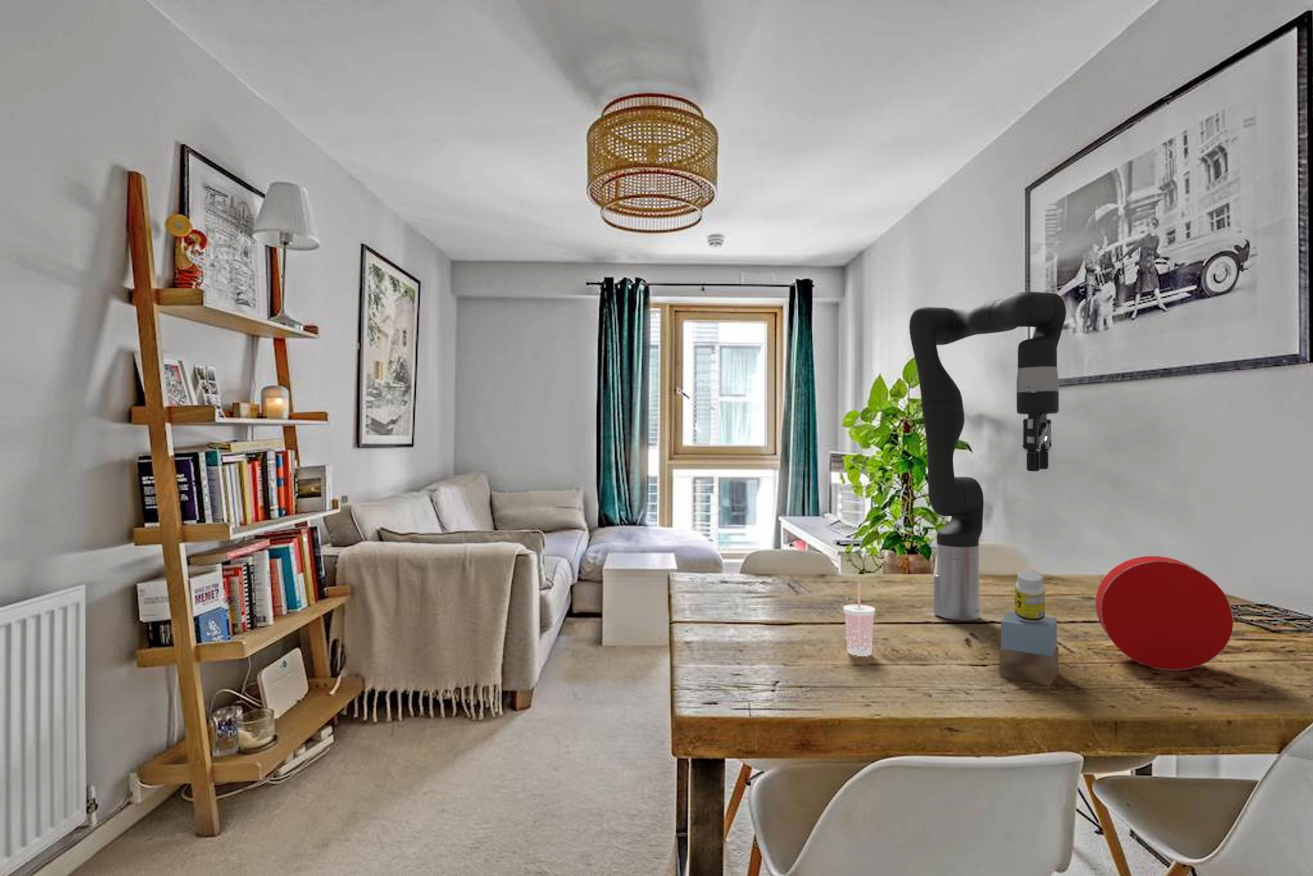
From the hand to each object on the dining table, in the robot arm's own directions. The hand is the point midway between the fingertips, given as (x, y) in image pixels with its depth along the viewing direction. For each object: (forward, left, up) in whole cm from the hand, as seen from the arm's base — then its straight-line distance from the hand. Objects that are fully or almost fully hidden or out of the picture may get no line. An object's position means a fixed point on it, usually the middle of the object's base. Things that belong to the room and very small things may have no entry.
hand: (1037, 470), depth 140 cm
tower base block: (+2, -19, -36) cm, 41 cm away
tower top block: (+2, -18, -31) cm, 36 cm away
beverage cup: (-27, -26, -36) cm, 52 cm away
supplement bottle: (+2, -19, -26) cm, 32 cm away
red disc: (+20, +2, -36) cm, 41 cm away
